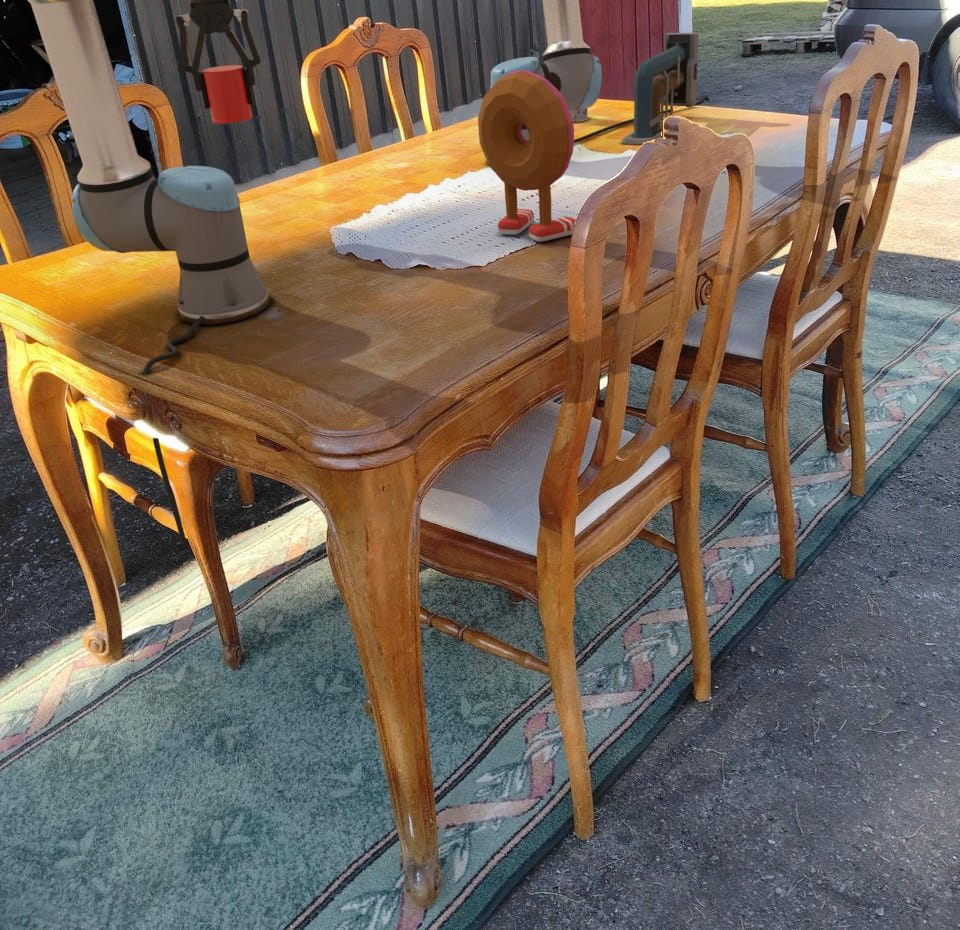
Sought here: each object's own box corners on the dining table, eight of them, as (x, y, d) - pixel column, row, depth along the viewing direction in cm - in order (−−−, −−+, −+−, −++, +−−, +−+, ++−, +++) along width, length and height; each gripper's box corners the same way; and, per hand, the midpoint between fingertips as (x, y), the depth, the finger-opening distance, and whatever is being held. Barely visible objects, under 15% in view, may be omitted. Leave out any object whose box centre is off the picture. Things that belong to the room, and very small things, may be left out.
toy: (594, 233, 186) (591, 67, 171) (560, 248, 180) (555, 77, 165) (511, 217, 199) (502, 62, 184) (477, 231, 193) (465, 71, 178)
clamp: (652, 144, 244) (653, 54, 234) (619, 143, 248) (619, 54, 237) (695, 115, 270) (698, 32, 259) (665, 114, 274) (667, 33, 263)
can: (249, 113, 200) (240, 63, 195) (254, 119, 194) (245, 68, 189) (210, 118, 198) (200, 68, 193) (214, 125, 192) (204, 73, 187)
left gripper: (261, -27, 187) (282, 97, 199) (152, -17, 185) (179, 107, 197) (259, -25, 181) (281, 103, 192) (146, -15, 179) (174, 114, 190)
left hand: (229, 105), depth 194 cm, fingers closed on can, 8 cm apart
